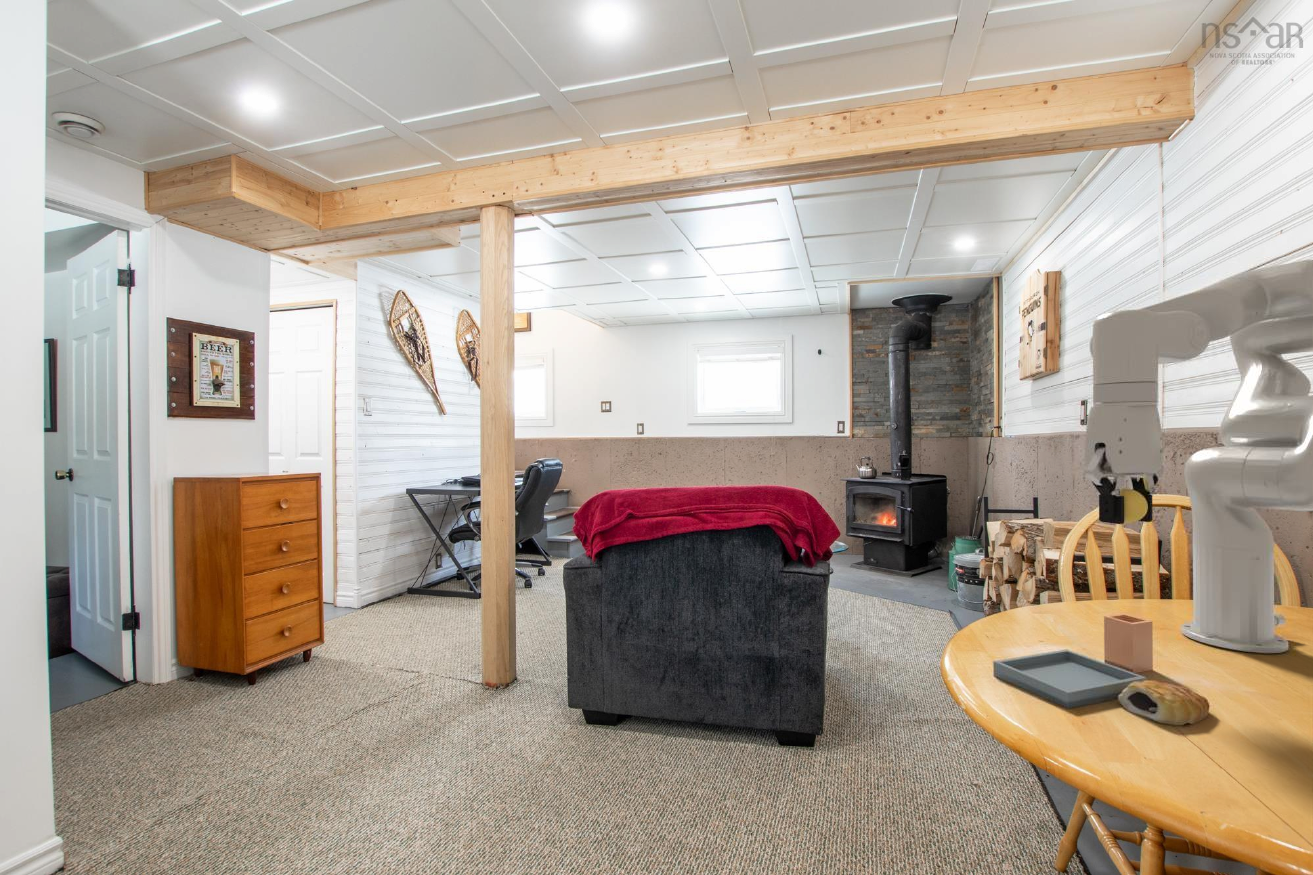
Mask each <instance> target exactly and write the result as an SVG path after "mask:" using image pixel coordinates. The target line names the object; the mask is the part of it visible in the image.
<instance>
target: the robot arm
mask: <svg viewBox="0 0 1313 875" xmlns="http://www.w3.org/2000/svg"><path fill="white" fill-rule="evenodd" d="M1227 337H1229V340H1230V345H1231V349H1232V352H1233V356H1234V358H1235V361H1236V365H1237V368H1238V370H1239V373H1240V374H1239V375H1240V384H1239V385H1238V388H1237V391H1236V392H1235V394H1234V396H1233V398H1232V400H1231V402H1230V405H1229V406H1228V409H1227V410H1226V411H1225V414H1224V416H1223V418H1222V421H1221V423H1220V426H1219V432H1218V438H1219V441H1221V444H1222V445H1223V446H1215V447H1208V448H1204V449H1201V450H1198V451H1196V452H1194V453H1193V454H1192V455H1190V457H1188V459H1187V461H1186V463H1185V466H1184V471H1183V472H1184V480H1185V485H1186V489H1187V492H1188V497H1189V503H1190V508H1191V517H1192V570H1193V571H1192V580H1193V581H1192V584H1193V586H1192V589H1193V590H1192V591H1193V592H1192V594H1193V595H1192V596H1193V598H1192V599H1193V600H1192V602H1193V604H1192V606H1193V614H1192V615H1193V621H1188V622H1185V623H1182V624H1181V626H1180V628H1181V634H1183V635H1184V636H1186V637H1188V638H1189V639H1191V640H1194V641H1196V642H1200V643H1202V644H1206V645H1210V646H1215V647H1218V648H1223V649H1227V650H1234V651H1239V652H1247V653H1257V654H1280V653H1285V652H1287V651H1288V650H1289V642H1288V640H1286V639H1285V638H1284V637H1282V636H1279V635H1277V634H1276V633H1275V627H1278V626H1283V625H1284V624H1286V617H1285V616H1283V615H1282V614H1281V613H1277V612H1276V613H1275V568H1274V567H1275V566H1274V565H1275V561H1274V560H1275V558H1274V557H1275V556H1274V555H1275V551H1274V550H1275V546H1274V545H1275V540H1274V536H1273V532H1272V530H1271V528H1270V527H1269V525H1268V523H1267V522H1266V521H1265V519H1264V518H1262V516H1261V515H1260V514H1259V513H1258V512H1257V510H1256V509H1258V508H1261V509H1271V510H1272V509H1274V510H1282V511H1283V510H1284V511H1286V510H1287V511H1299V512H1301V511H1302V512H1313V395H1312V394H1310V392H1311V388H1312V387H1311V386H1312V384H1311V381H1310V379H1309V377H1307V375H1306V374H1305V373H1304V372H1303V371H1302V370H1301V369H1299V368H1298V367H1297V366H1295V365H1294V364H1292V363H1291V362H1289V361H1287V360H1285V358H1284V357H1283V356H1282V355H1287V354H1299V353H1301V354H1302V353H1309V352H1313V259H1304V260H1299V261H1293V262H1289V263H1283V264H1278V265H1273V266H1268V267H1264V268H1258V269H1253V270H1247V271H1243V272H1240V273H1237V274H1234V275H1231V276H1228V277H1226V278H1224V279H1222V280H1219V281H1218V282H1215V283H1213V284H1210V285H1208V286H1206V287H1203V288H1201V289H1198V290H1195V291H1192V292H1189V293H1186V294H1183V295H1182V294H1181V295H1179V296H1176V297H1173V298H1170V299H1168V300H1164V301H1161V302H1159V303H1155V304H1151V305H1149V306H1145V307H1142V308H1139V309H1126V310H1125V309H1124V310H1118V311H1113V312H1112V311H1111V312H1107V313H1104V314H1101V315H1099V316H1098V317H1097V318H1095V320H1094V321H1093V324H1092V336H1091V337H1090V341H1089V352H1090V355H1091V357H1092V402H1093V403H1092V406H1091V407H1090V409H1089V412H1088V418H1087V422H1086V428H1085V430H1086V431H1085V439H1084V440H1085V441H1084V454H1083V465H1084V475H1085V476H1086V477H1087V478H1088V480H1090V481H1091V483H1092V485H1093V486H1094V488H1095V493H1096V495H1098V519H1099V521H1100V522H1101V523H1107V524H1114V525H1115V524H1116V525H1123V524H1124V496H1120V494H1121V489H1123V485H1124V484H1123V483H1124V478H1125V476H1126V478H1127V483H1128V487H1129V488H1128V489H1132V490H1135V491H1137V492H1139V493H1140V494H1141V495H1143V497H1144V498H1145V499H1146V501H1147V504H1148V510H1147V513H1146V514H1145V516H1144V517H1143V518H1142V519H1140V520H1139V521H1138V522H1142V523H1151V522H1152V521H1153V519H1154V518H1153V495H1154V494H1155V492H1156V485H1157V483H1158V482H1159V479H1160V478H1161V476H1162V475H1163V474H1164V473H1165V467H1164V466H1163V452H1164V451H1163V435H1162V426H1161V418H1160V413H1159V408H1158V407H1159V365H1164V364H1174V363H1182V362H1186V361H1190V360H1192V359H1194V358H1197V357H1199V356H1200V355H1201V354H1202V353H1204V352H1205V350H1206V349H1207V348H1208V346H1209V344H1210V343H1212V342H1215V341H1219V340H1222V339H1225V338H1227ZM1110 479H1111V480H1112V479H1113V481H1112V482H1111V480H1110ZM1255 508H1256V509H1255Z"/></svg>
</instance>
